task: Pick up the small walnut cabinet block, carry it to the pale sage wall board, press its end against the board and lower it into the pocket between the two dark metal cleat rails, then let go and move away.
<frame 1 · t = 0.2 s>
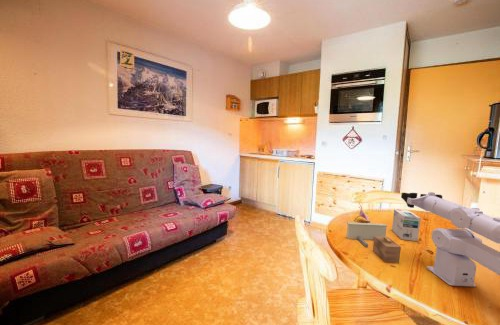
hand: (411, 195, 90), 21 cm above the table, tool horizontal, fingers open, 7 cm apart
lily: (362, 223, 117), on the table
wall board: (365, 238, 98), on the table
light bulb box: (403, 235, 103), on the table
cabinet block: (385, 256, 83), on the table
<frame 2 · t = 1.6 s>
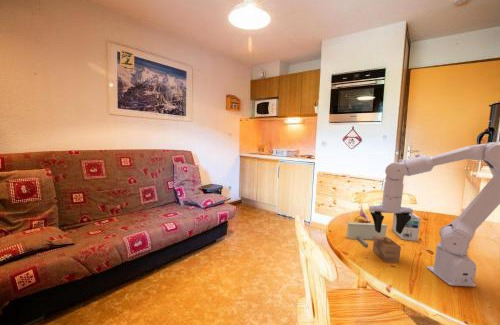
hand: (388, 232, 82), 9 cm above the table, tool pointing down, fingers open, 7 cm apart
nothing on the table moved.
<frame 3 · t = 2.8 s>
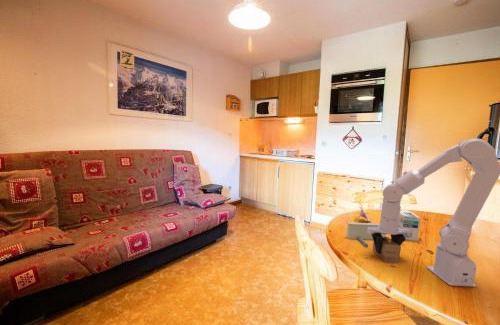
hand: (385, 252, 83), 1 cm above the table, tool pointing down, fingers closed on cabinet block, 5 cm apart
cabinet block: (385, 256, 83), on the table, touching gripper
everything else where it was.
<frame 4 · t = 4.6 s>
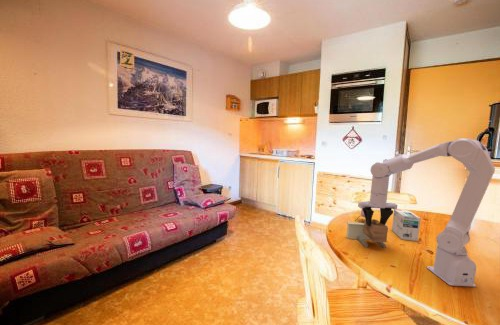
hand: (375, 225, 91), 8 cm above the table, tool pointing down, fingers closed on cabinet block, 5 cm apart
cabinet block: (374, 237, 91), point 4 cm above the table, touching gripper
everything else where it was.
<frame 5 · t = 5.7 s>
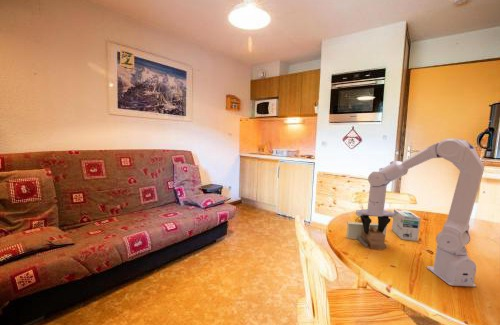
hand: (372, 233, 92), 5 cm above the table, tool pointing down, fingers closed on cabinet block, 5 cm apart
cabinet block: (371, 244, 93), on the table, touching gripper
everything else where it was.
when the fingers open (3 cm above the table, at t = 6.7 s): cabinet block stays where it is, on the table.
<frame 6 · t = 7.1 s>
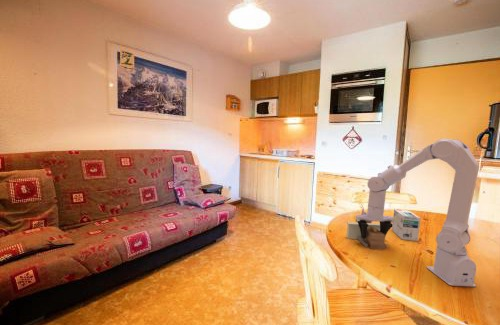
hand: (372, 238, 92), 3 cm above the table, tool pointing down, fingers open, 7 cm apart
cabinet block: (371, 244, 93), on the table
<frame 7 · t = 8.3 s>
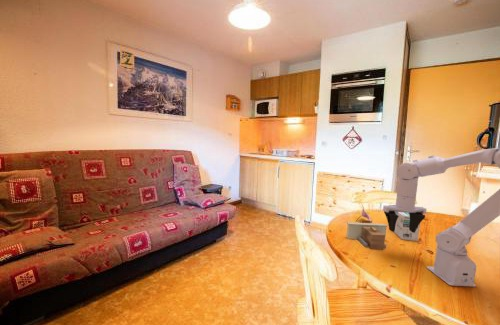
hand: (401, 231, 84), 9 cm above the table, tool pointing down, fingers open, 7 cm apart
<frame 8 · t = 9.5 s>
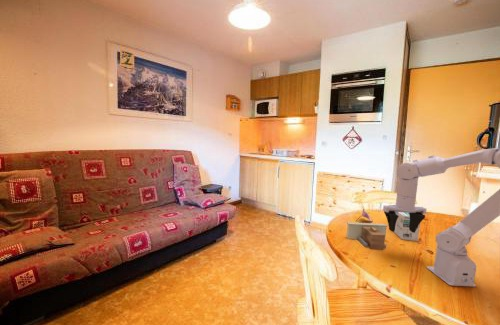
hand: (401, 231, 84), 9 cm above the table, tool pointing down, fingers open, 7 cm apart
at the end: cabinet block 0.1 cm from the target spot, on the table; cabinet block tilted 0°; the gripper is holding nothing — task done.
